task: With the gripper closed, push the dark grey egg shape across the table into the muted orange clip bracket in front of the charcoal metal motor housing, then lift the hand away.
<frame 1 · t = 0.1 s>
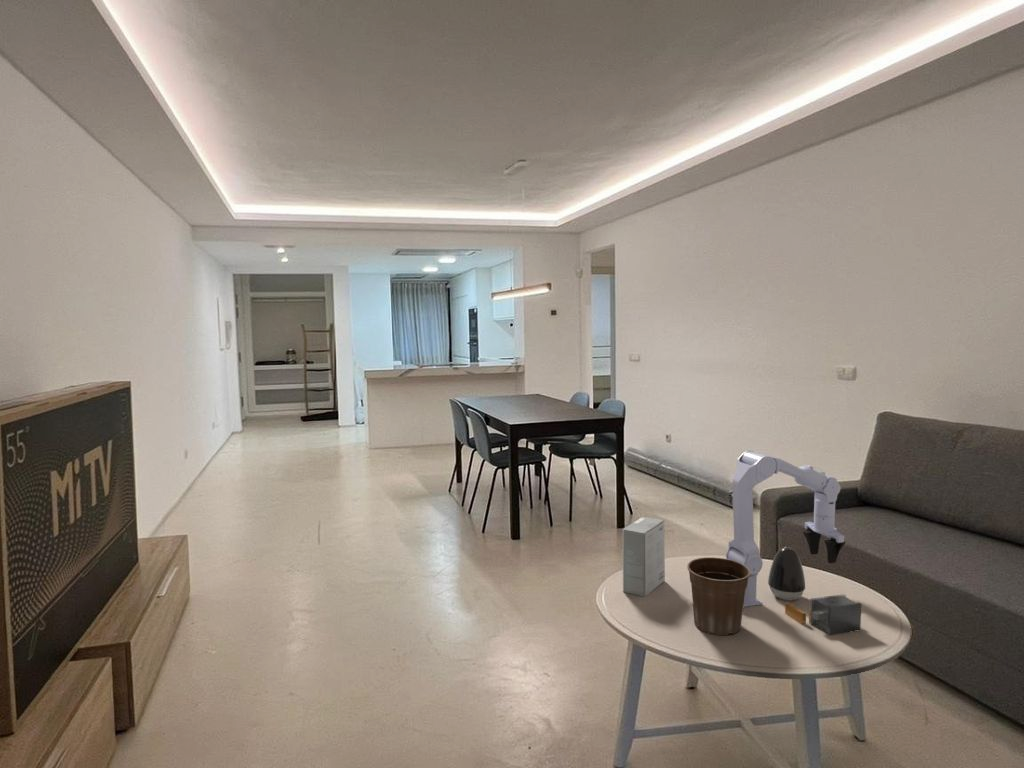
hand: (822, 558, 197), 10 cm above the table, fingers open, 7 cm apart
hard drive box: (643, 586, 202), on the table
dark grey egg shape: (786, 597, 193), on the table
motor: (827, 621, 177), on the table
plant pot: (717, 626, 175), on the table
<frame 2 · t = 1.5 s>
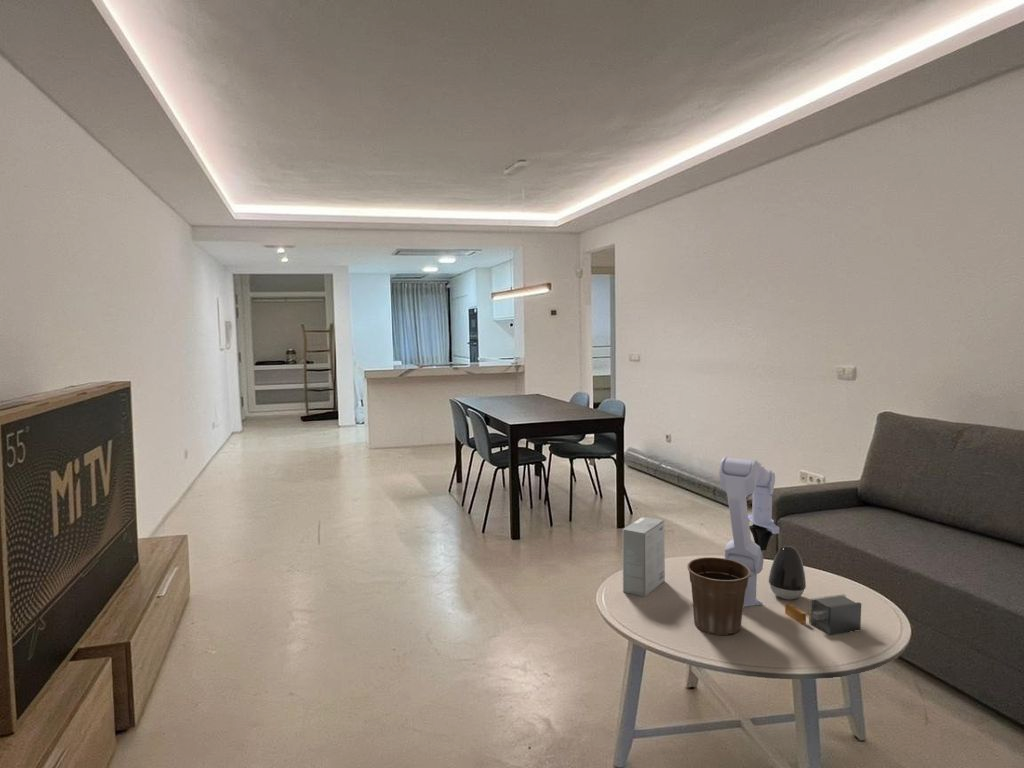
hand: (761, 549, 204), 10 cm above the table, fingers closed
nothing on the table moved.
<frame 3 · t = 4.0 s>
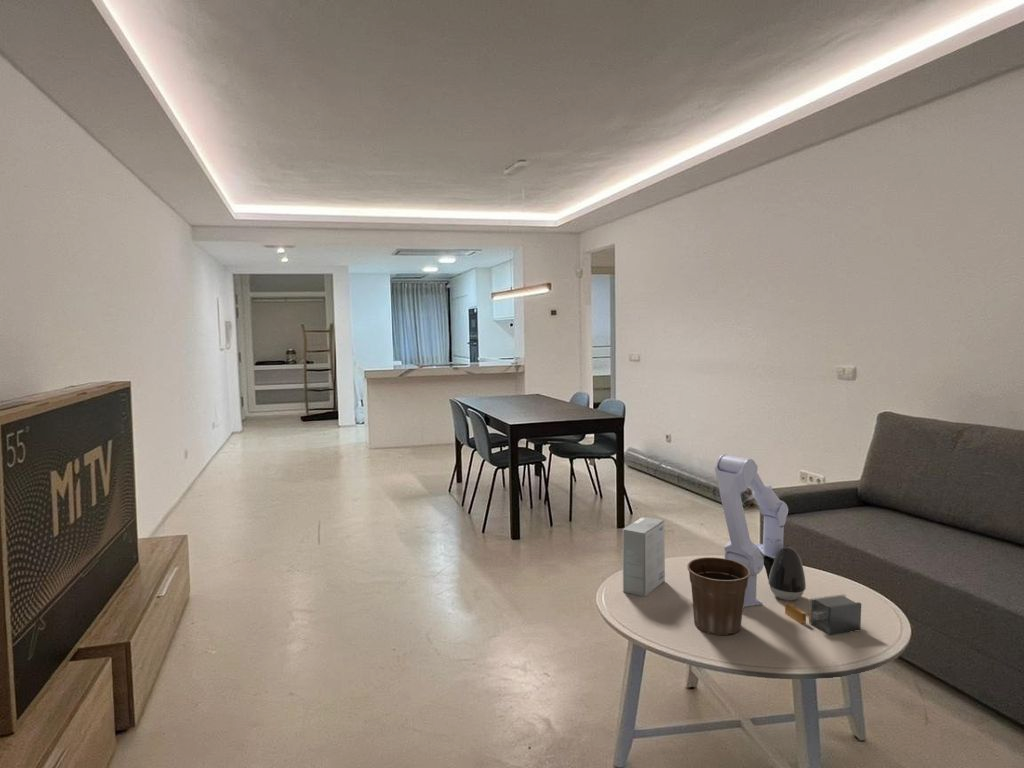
hand: (772, 580, 199), 2 cm above the table, fingers closed
dark grey egg shape: (786, 597, 193), on the table, touching gripper
everything else where it was.
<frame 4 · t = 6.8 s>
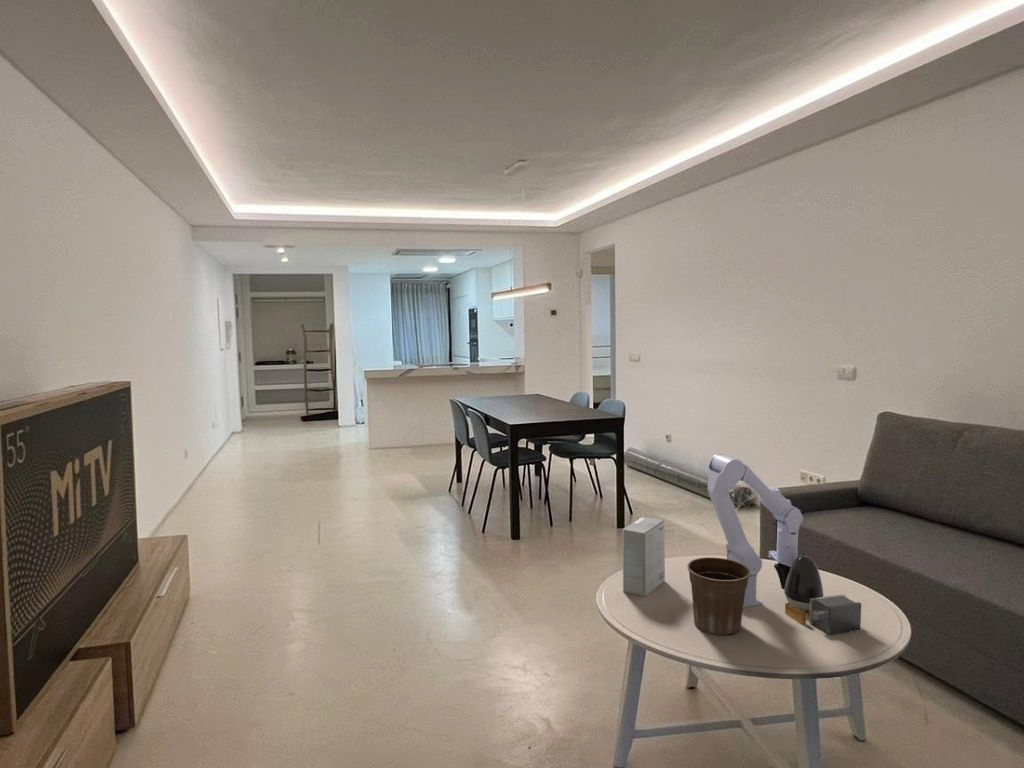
hand: (785, 588, 193), 2 cm above the table, fingers closed
dark grey egg shape: (803, 608, 186), on the table
everything else where it was.
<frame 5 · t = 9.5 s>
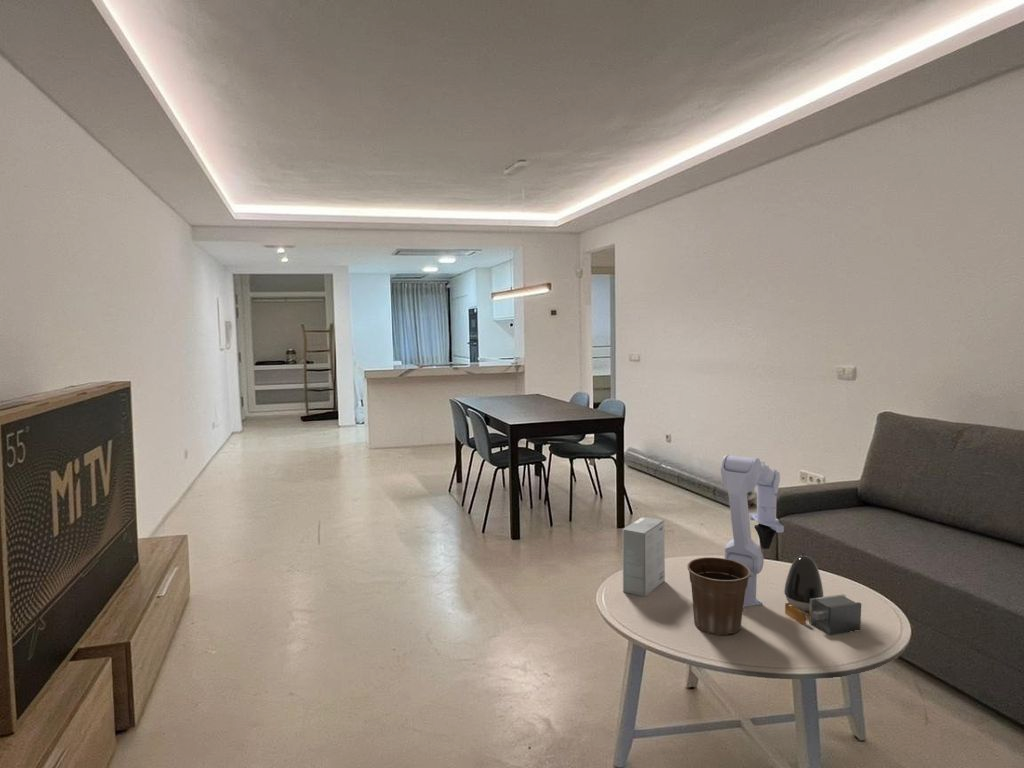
hand: (765, 548, 205), 10 cm above the table, fingers closed
nothing on the table moved.
at the end: dark grey egg shape inside the target area (2.5 cm from its centre), on the table; dark grey egg shape tilted 0° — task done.
